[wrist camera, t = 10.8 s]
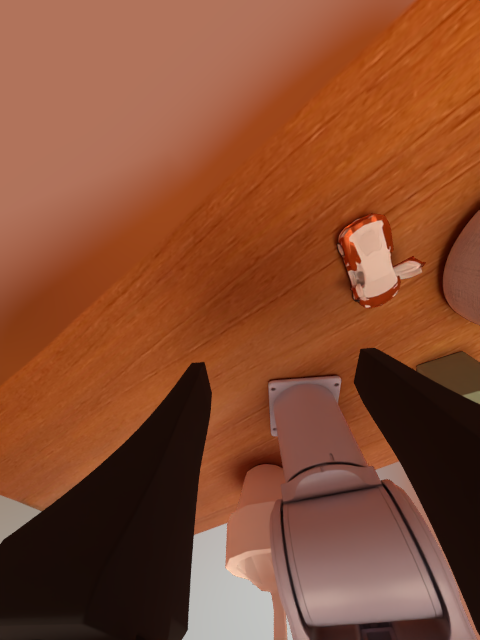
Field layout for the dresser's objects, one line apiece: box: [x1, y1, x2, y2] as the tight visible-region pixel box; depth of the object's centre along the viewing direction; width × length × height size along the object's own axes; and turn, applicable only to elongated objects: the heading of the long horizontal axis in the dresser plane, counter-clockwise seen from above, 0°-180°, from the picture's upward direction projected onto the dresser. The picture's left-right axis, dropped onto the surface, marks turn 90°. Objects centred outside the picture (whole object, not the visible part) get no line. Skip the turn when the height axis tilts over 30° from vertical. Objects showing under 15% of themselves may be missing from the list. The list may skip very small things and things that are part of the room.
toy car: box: [337, 213, 426, 308], centre depth 17 cm, size 5×8×3 cm, turn 28°
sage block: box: [417, 351, 480, 404], centre depth 22 cm, size 4×4×4 cm
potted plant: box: [225, 464, 287, 640], centre depth 22 cm, size 13×12×25 cm
